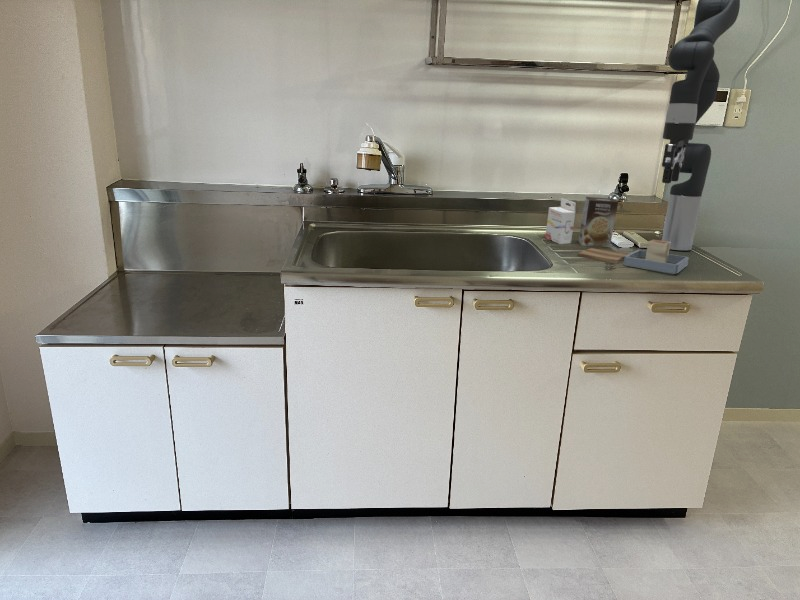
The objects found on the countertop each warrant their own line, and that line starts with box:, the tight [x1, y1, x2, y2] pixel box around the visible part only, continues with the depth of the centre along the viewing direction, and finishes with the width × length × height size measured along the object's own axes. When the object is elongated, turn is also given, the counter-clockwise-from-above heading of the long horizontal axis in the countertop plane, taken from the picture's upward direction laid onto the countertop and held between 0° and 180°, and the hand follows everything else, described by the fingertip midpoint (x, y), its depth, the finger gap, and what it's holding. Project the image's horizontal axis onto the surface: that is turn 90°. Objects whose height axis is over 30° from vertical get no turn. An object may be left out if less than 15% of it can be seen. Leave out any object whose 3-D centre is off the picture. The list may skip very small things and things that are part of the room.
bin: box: [622, 249, 690, 275], centre depth 167 cm, size 15×15×2 cm
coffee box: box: [578, 196, 619, 248], centre depth 187 cm, size 9×6×16 cm
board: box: [576, 247, 629, 265], centre depth 175 cm, size 12×12×1 cm
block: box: [644, 239, 671, 263], centre depth 167 cm, size 5×5×7 cm
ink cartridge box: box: [544, 197, 577, 245], centre depth 190 cm, size 9×5×15 cm, turn 22°
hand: (669, 182), depth 161 cm, fingers open, 8 cm apart
